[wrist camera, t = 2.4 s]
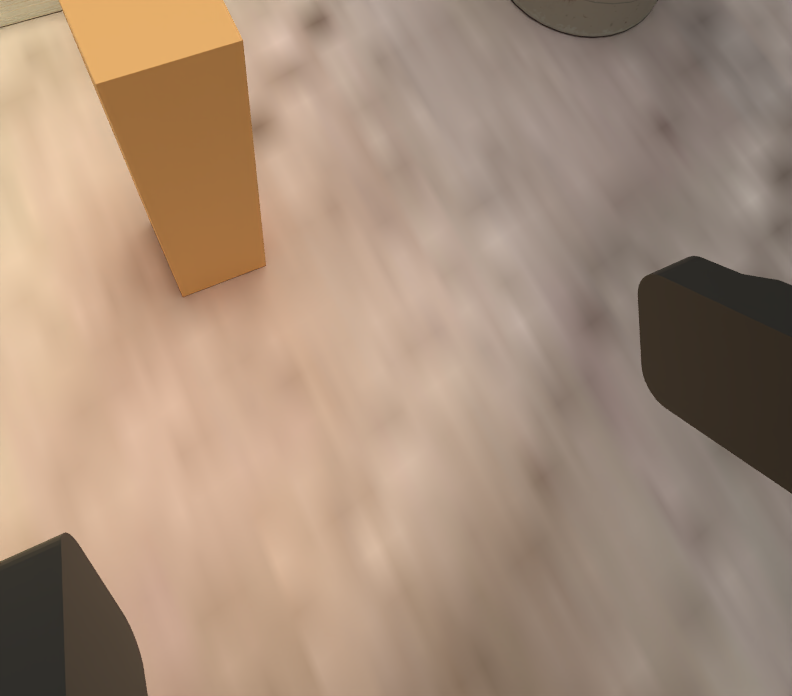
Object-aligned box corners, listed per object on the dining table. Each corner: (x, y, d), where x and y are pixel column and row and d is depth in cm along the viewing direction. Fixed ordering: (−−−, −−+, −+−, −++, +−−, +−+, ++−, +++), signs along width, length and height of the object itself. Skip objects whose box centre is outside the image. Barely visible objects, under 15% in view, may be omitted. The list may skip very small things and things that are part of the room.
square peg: (232, 193, 28) (187, -72, 16) (265, 265, 27) (242, 40, 16) (150, 222, 27) (44, -36, 16) (182, 296, 26) (95, 84, 15)
